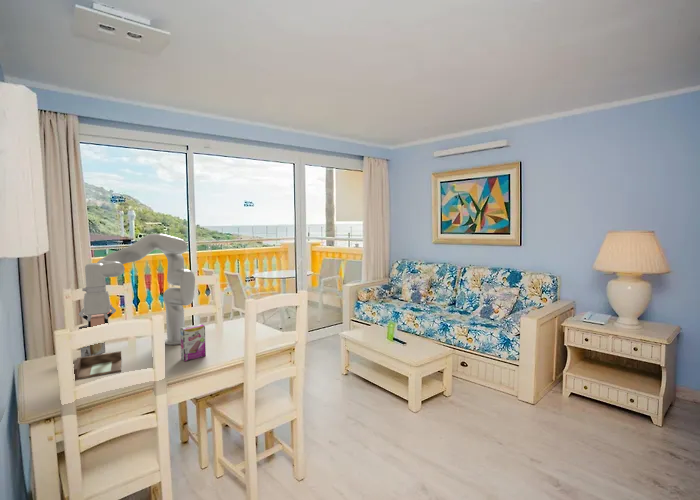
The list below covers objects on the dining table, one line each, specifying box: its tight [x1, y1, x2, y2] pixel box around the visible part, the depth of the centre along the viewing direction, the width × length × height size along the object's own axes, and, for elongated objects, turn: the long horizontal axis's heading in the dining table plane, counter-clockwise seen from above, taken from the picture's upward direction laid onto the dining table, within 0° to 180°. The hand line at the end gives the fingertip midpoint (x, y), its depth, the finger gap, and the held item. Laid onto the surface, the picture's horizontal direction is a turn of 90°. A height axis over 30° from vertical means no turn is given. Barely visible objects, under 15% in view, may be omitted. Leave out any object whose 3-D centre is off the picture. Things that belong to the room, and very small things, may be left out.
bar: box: [91, 314, 105, 327], centre depth 175 cm, size 10×5×6 cm, turn 30°
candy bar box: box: [180, 323, 207, 362], centre depth 191 cm, size 11×5×16 cm, turn 134°
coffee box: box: [78, 324, 106, 358], centre depth 196 cm, size 9×6×16 cm
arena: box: [73, 350, 123, 381], centre depth 177 cm, size 18×16×5 cm
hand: (98, 327), depth 175 cm, fingers closed on bar, 5 cm apart
